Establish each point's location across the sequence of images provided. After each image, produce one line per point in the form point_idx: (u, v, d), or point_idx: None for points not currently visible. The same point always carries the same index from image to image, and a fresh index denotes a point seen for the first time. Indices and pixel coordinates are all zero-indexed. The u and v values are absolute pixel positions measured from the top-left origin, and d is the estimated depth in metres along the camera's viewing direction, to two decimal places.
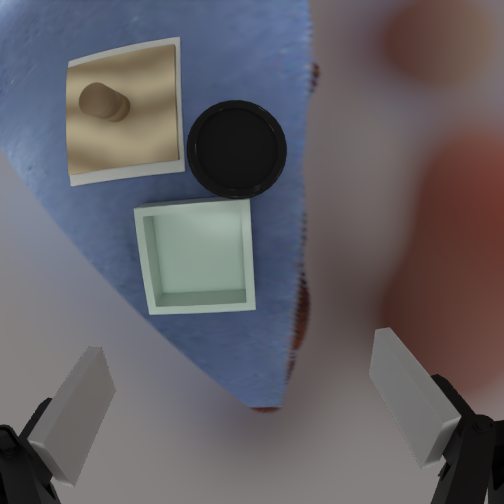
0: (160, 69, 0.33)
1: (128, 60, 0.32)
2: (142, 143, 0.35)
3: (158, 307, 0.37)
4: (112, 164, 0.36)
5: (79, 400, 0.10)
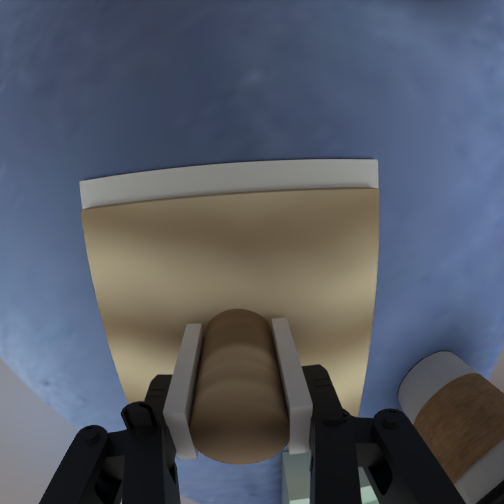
0: (346, 256, 0.16)
1: (262, 220, 0.15)
2: None
3: None
4: None
5: (195, 372, 0.13)
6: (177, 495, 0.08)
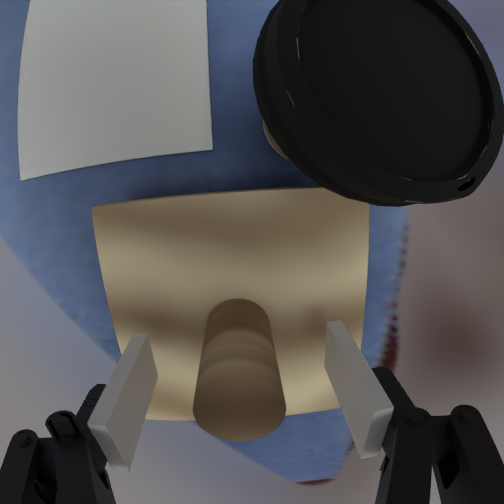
0: (338, 249, 0.17)
1: (260, 216, 0.16)
2: (294, 389, 0.19)
3: None
4: None
5: (132, 384, 0.12)
6: (112, 500, 0.07)
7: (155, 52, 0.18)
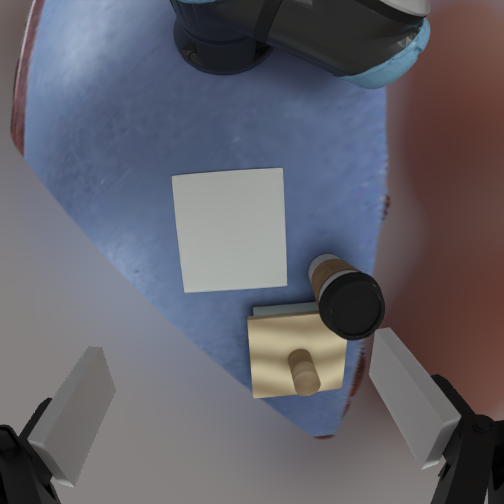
0: None
1: (310, 322, 0.45)
2: None
3: None
4: (293, 392, 0.49)
5: (79, 400, 0.10)
6: None
7: (260, 239, 0.48)
